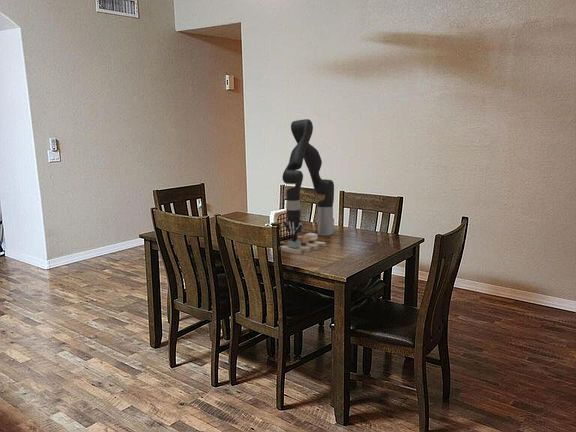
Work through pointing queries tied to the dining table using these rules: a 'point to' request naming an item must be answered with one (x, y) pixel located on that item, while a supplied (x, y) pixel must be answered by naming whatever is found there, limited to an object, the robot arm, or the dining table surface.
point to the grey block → (294, 244)
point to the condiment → (279, 229)
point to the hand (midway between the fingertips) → (294, 240)
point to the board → (304, 247)
